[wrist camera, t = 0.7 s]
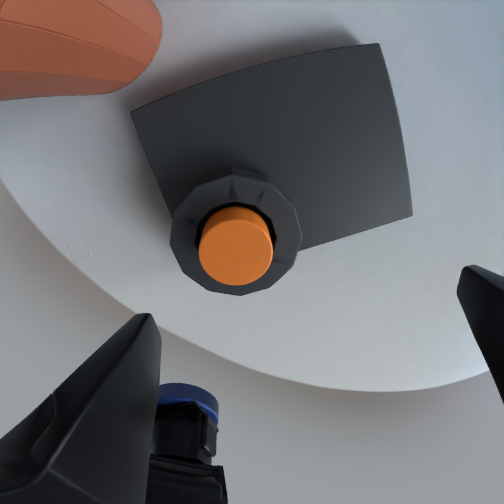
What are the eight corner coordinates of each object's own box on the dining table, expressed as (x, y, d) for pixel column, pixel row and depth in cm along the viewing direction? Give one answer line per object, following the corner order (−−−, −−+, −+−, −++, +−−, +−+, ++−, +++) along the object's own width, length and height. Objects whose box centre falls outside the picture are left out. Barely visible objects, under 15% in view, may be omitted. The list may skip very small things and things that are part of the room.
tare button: (216, 274, 16) (214, 293, 14) (192, 218, 14) (186, 233, 13) (276, 256, 15) (281, 274, 14) (257, 196, 14) (260, 209, 12)
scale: (205, 273, 19) (200, 307, 16) (138, 111, 14) (115, 114, 11) (401, 214, 18) (429, 236, 15) (366, 47, 13) (395, 37, 10)
